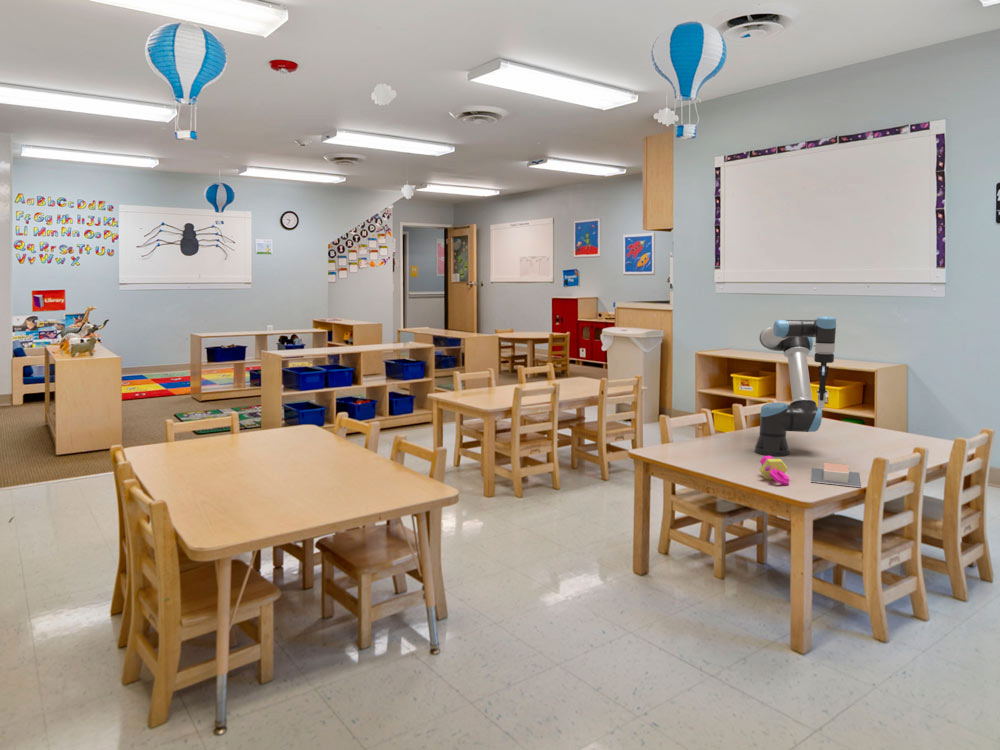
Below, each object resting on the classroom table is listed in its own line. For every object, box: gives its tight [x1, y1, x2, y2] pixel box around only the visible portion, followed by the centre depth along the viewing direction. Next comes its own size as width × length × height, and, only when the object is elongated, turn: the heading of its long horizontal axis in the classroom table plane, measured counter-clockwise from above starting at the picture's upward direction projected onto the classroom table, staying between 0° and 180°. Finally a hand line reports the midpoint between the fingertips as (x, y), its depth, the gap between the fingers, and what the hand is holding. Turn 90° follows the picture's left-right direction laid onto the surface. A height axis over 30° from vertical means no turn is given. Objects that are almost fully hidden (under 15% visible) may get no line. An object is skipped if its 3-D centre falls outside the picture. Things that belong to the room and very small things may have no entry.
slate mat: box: [810, 467, 862, 489], centre depth 286 cm, size 22×18×1 cm
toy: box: [759, 455, 790, 486], centre depth 284 cm, size 10×18×10 cm
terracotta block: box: [823, 462, 850, 483], centre depth 285 cm, size 4×9×14 cm
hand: (821, 407), depth 300 cm, fingers closed
